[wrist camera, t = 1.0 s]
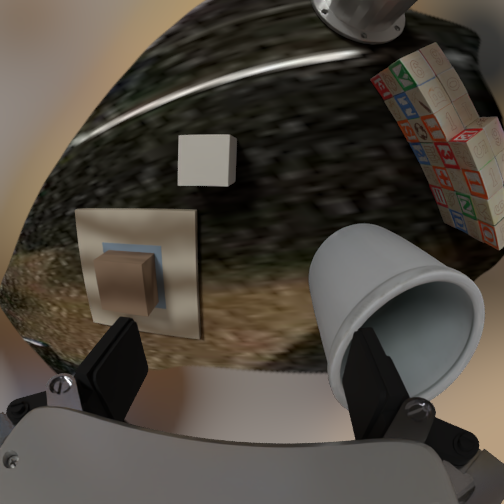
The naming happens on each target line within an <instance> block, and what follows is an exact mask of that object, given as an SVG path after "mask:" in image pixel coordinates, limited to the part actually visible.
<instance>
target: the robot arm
mask: <svg viewBox="0 0 504 504" xmlns="http://www.w3.org/2000/svg"><path fill="white" fill-rule="evenodd" d="M416 1H417V0H311V2H312V5H313V8H314V10H315V12H316V14H317V15H318V16H319V18H320V19H321V20H322V21H323V22H324V23H325V24H326V25H327V26H328V27H329V28H331V29H332V30H334V31H335V32H337V33H338V34H340V35H342V36H344V37H346V38H348V39H351V40H353V41H356V42H360V43H364V44H372V45H376V44H384V43H388V42H390V41H392V40H394V39H395V38H397V37H398V36H399V35H400V34H401V33H402V31H403V29H404V26H405V15H404V13H405V12H406V11H407V10H408V9H409V8H410V7H411V6H412V5H413V4H414V3H415V2H416ZM323 13H324V14H323ZM362 37H363V38H362ZM147 372H148V365H147V361H146V357H145V354H144V350H143V346H142V342H141V338H140V334H139V329H138V325H137V323H136V322H135V321H134V320H133V318H130V317H122V316H121V317H119V318H118V319H117V320H116V321H115V323H114V324H113V325H112V326H111V327H110V329H109V330H108V331H107V332H106V333H105V335H104V336H103V337H102V338H101V340H100V341H99V342H98V343H97V344H96V346H95V347H94V348H93V349H92V351H91V352H90V353H89V354H88V356H87V357H86V358H85V359H84V361H83V362H82V363H81V364H80V366H79V367H78V368H77V370H76V371H75V373H76V374H75V375H74V377H73V376H72V375H69V374H64V373H63V374H58V375H55V376H54V377H52V378H51V379H50V380H49V381H48V383H47V385H46V391H44V392H41V393H37V394H33V395H30V396H26V397H23V398H19V399H16V400H14V401H12V402H11V403H10V405H9V406H8V408H7V412H6V414H4V413H3V412H2V413H0V504H501V503H502V501H503V500H504V464H503V463H502V462H501V461H499V460H498V459H497V458H496V457H494V456H493V455H492V454H490V453H489V452H488V451H487V450H485V449H484V450H483V451H481V450H480V449H479V441H478V439H477V437H476V436H475V435H474V434H473V433H471V432H469V431H466V430H464V429H462V428H459V427H457V426H454V425H452V424H449V423H447V422H445V421H443V420H440V419H438V418H436V417H435V414H436V411H435V407H434V406H433V404H432V403H431V402H430V401H428V400H426V399H425V398H421V397H412V398H410V396H409V394H408V392H407V390H406V388H405V385H404V383H403V381H402V379H401V377H400V375H399V373H398V371H397V369H396V367H395V365H394V363H393V360H392V359H391V357H390V356H387V355H386V353H385V351H384V349H383V347H382V345H381V343H380V341H379V339H378V337H377V335H376V333H375V331H374V329H373V328H372V327H366V328H359V329H358V331H355V332H354V334H353V338H352V342H351V346H350V350H349V354H348V358H347V362H346V366H345V370H344V374H343V378H342V385H343V389H344V393H345V397H346V401H347V405H348V409H349V413H350V418H351V422H352V426H353V431H354V435H355V440H351V441H340V442H324V443H297V444H276V443H274V444H273V443H249V442H235V441H224V440H214V439H205V438H198V437H192V436H185V435H179V434H173V433H168V432H163V431H158V430H153V429H148V428H144V427H140V426H136V425H132V424H128V423H124V422H123V420H124V418H125V416H126V414H127V412H128V410H129V408H130V406H131V404H132V402H133V401H134V398H135V396H136V395H137V393H138V391H139V389H140V387H141V385H142V383H143V381H144V379H145V377H146V375H147Z"/></svg>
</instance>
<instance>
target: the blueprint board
mask: <svg viewBox="0 0 504 504" xmlns="http://www.w3.org/2000/svg"><path fill="white" fill-rule="evenodd" d="M75 216H76V226H77V235H78V243H79V250H80V257H81V263H82V269H83V275H84V281H85V286H86V291H87V296H88V300H89V305H90V309H91V313H92V317H93V321H94V322H96V323H101V324H106V325H111V326H112V325H113V324H114V323H115V321H116V320H117V319H118V318H119V317H121V316H122V317H130V318H133V320H134V321H135V322H136V323H137V325H138V329H139V331H144V332H150V333H157V334H163V335H170V336H177V337H185V338H193V339H200V337H201V326H200V307H199V283H198V245H197V210H189V209H142V208H86V209H76V210H75ZM108 250H117V251H131V252H145V253H154V256H155V269H156V280H157V290H158V299H159V302H158V304H157V305H156V306H155V308H154V309H153V311H152V312H151V313H150V315H149V316H148V317H146V316H139V315H133V314H126V313H120V312H114V311H109V310H103V309H102V306H101V301H100V296H99V291H98V285H97V280H96V274H95V268H94V261H93V260H94V259H96V258H97V257H99V256H100V255H102V254H103V253H105V252H106V251H108Z"/></svg>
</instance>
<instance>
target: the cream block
mask: <svg viewBox="0 0 504 504" xmlns="http://www.w3.org/2000/svg"><path fill="white" fill-rule="evenodd" d="M236 153H237V139H236V138H234V137H233V136H231V135H179V147H178V186H229V185H231V184H233V183H234V182H235V179H236Z"/></svg>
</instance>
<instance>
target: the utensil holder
mask: <svg viewBox="0 0 504 504" xmlns="http://www.w3.org/2000/svg"><path fill="white" fill-rule="evenodd" d="M309 288H310V293H311V298H312V303H313V308H314V312H315V316H316V320H317V324H318V327H319V331H320V335H321V339H322V343H323V347H324V351H325V354H326V358H327V362H328V380H329V384H330V387H331V390H332V392H333V395H334V396H335V398H336V400H337V401H338V402H339V403H340V404H341V405H342V406H343V407H344V408H346V409H347V410H349V409H348V405H347V401H346V397H345V393H344V389H343V385H342V378H343V374H344V370H345V366H346V362H347V358H348V354H349V350H350V346H351V342H352V338H353V334H354V332H355V331H358V329H359V328H366V327H372V328H373V329H374V331H375V333H376V335H377V337H378V339H379V341H380V343H381V345H382V347H383V349H384V351H385V353H386V355H387V356H390V357H391V359H392V360H393V363H394V365H395V367H396V369H397V371H398V373H399V375H400V377H401V379H402V381H403V383H404V385H405V388H406V390H407V392H408V394H409V396H410V398H412V397H421V398H425V399H426V400H428V401H430V400H432V399H434V398H435V397H436V396H438V395H439V394H440V393H442V392H443V391H444V390H445V389H446V388H448V387H449V386H450V385H451V384H452V383H453V381H455V379H456V378H457V377H458V376H459V375H460V374H461V372H462V371H463V370H464V368H465V367H466V365H467V364H468V362H469V361H470V359H471V358H472V356H473V354H474V352H475V350H476V348H477V346H478V343H479V341H480V338H481V335H482V331H483V326H484V319H485V308H484V301H483V298H482V295H481V292H480V290H479V289H478V287H477V286H476V284H475V283H474V282H473V281H472V280H471V279H470V278H469V277H467V276H466V275H464V274H463V273H461V272H459V271H457V270H455V269H453V268H450V267H447V266H445V265H444V264H442V263H441V262H439V261H438V260H437V259H435V258H433V257H432V256H430V255H429V254H427V253H426V252H424V251H423V250H421V249H420V248H418V247H417V246H415V245H414V244H412V243H410V242H409V241H407V240H405V239H404V238H402V237H400V236H398V235H397V234H395V233H393V232H391V231H389V230H387V229H385V228H383V227H380V226H377V225H373V224H355V225H350V226H347V227H344V228H342V229H340V230H338V231H336V232H335V233H334V234H332V235H331V236H330V237H328V238H327V239H326V240H325V241H324V242H323V243H322V245H321V246H320V247H319V249H318V250H317V252H316V254H315V256H314V258H313V260H312V263H311V266H310V271H309Z"/></svg>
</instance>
